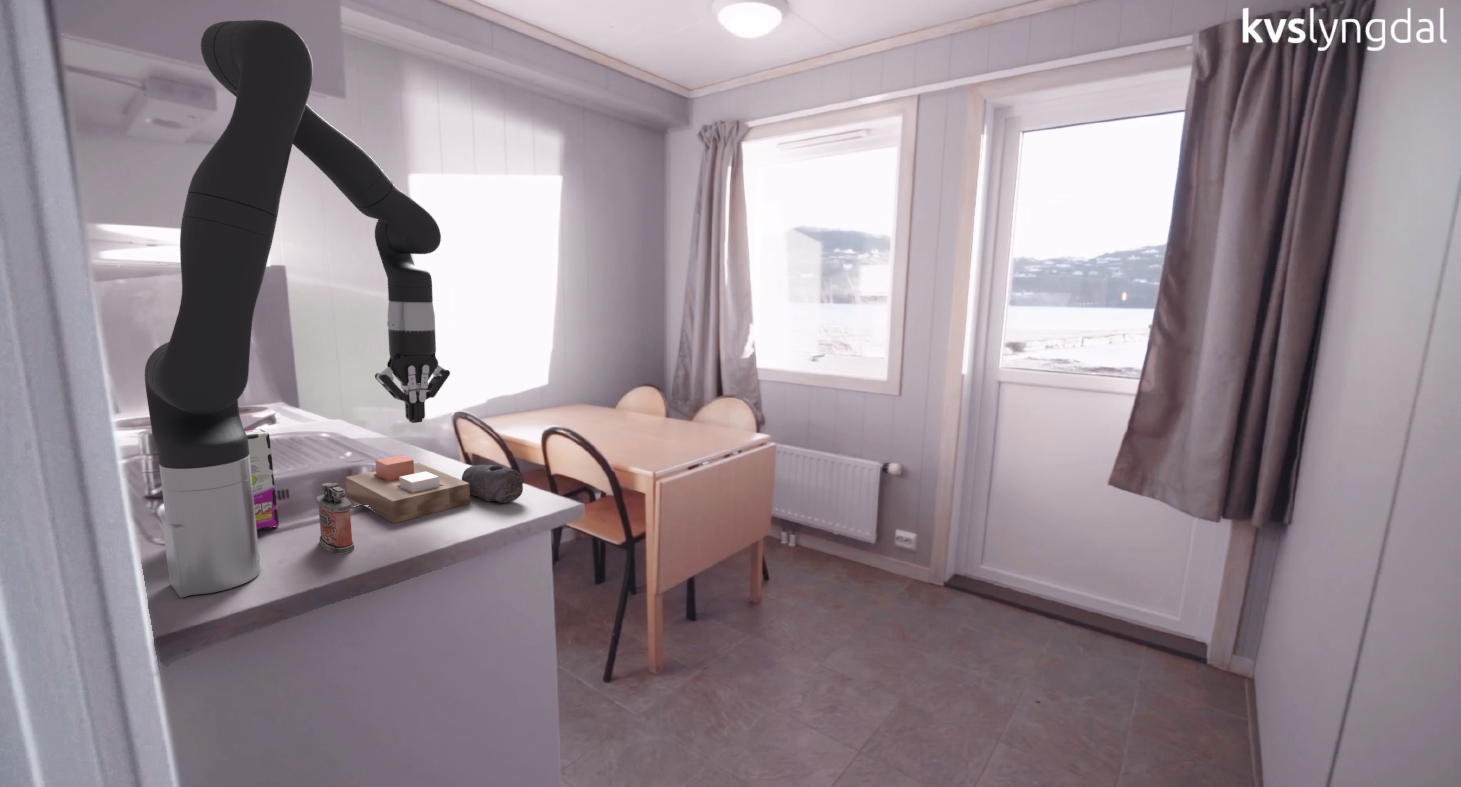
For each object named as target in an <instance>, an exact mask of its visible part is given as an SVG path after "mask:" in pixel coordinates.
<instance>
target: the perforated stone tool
mask: <svg viewBox="0 0 1461 787" xmlns="http://www.w3.org/2000/svg"><path fill="white" fill-rule="evenodd" d="M461 480H462V481H465V482H467V483H469V488H470V495H472V496H474V497H475V496H476V497H477V498H478V499H481V500H484V501H487V502H493V501H497V502H499V503H500V504H506V503H509V502H514V501H516V500H517V499H519V498H520V497H521V495H522V494H523V490H524V489H523V488H524V484H523V476H522V474H521V473H520V472H519V471H517V470H516V469H515V470H514V469H512V468H509V467H505V466H502V465H492V464H477V465H471V466H469V467H467V468H466V469H465V470H464V471H463V473H462V474H461Z"/></svg>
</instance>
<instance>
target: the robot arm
mask: <svg viewBox="0 0 1461 787" xmlns="http://www.w3.org/2000/svg"><path fill="white" fill-rule="evenodd" d="M200 49H201V50H200V51H201V52H200V53H201V55H202V58H203V62H204V63H205V66H206V67H207V69H208V71H209V72H210V73H211V75H212V76H213V77H214V78H215V79H216V80H217V81H218V82H219V83H220V85H222V86H223V87H224V88H225V89H226V90H227V91H228V92H230V93H231V94H232V95H233V96H235V97H236V99H235V103H234V108H233V112H232V115H231V118H230V120H229V122H228V124H227V126H226V128H225V130H224V131H223V133H222V134H221V135H220V137H219V138H218V139H217V141H216V142H215V144H214V145H213V146H212V147H211V149H210V150H209V151H208V153H206V155H205V156H204V158H203V159H202V160H201V162H200V164H199V165H198V167H197V168H196V170H195V172H194V174H193V175H192V177H191V180H190V183H189V186H188V190H187V195H186V199H185V203H184V209H183V212H182V218H181V223H180V236H179V237H180V238H179V252H180V256H179V257H180V271H181V297H180V298H181V299H180V305H179V309H178V314H177V316H176V320H175V324H174V325H173V330H172V334H171V336H170V337H169V338H170V340H169V341H168V342H165V343H164V344H162V345H160V346H158V347H157V348H156V349H155V350H153V352H152V353H151V354H150V356H149V357H148V359H147V361H146V363H145V367H144V383H145V384H144V385H145V386H144V387H145V393H146V400H147V406H148V414H149V419H150V421H149V422H150V428H151V433H152V434H151V435H152V438H153V442H154V445H155V448H156V453H157V458H158V465H159V474H160V483H161V489H162V490H161V491H162V498H163V507H164V508H163V509H164V516H162V519H161V523H162V530H163V539H164V546H165V554H166V556H165V557H166V564H167V572H168V579H169V585H170V586H171V587H172V589H173V590H174V591H175V593H176V594H177V596H179V598H184V597H185V598H186V597H188V596H195V595H204V594H213V593H217V592H222V591H226V590H230V589H233V588H237V587H239V586H241V585H243V584H246V583H248V582H250V581H252V580H254V579H255V578H257V577H258V575H260V573H261V562H260V560H261V558H260V553H259V552H260V550H259V549H260V548H259V540H258V532H257V529H256V518H255V508H254V498H253V488H252V477H251V466H250V456H249V444H248V438H247V435H246V433H245V431H246V430H245V429H244V425H243V422H242V419H241V415H240V408H239V399H240V397H241V396H242V395H243V393H244V391H245V390H246V388H247V384H248V380H249V371H250V357H251V356H250V352H251V342H252V341H251V340H252V328H253V327H252V326H253V321H254V320H253V319H254V314H255V309H256V305H257V301H258V298H259V293H260V290H261V289H262V288H261V287H262V284H263V280H264V277H265V274H266V273H265V272H266V269H267V264H268V260H269V256H270V253H271V248H272V244H273V240H274V234H275V230H276V226H277V220H278V217H279V216H278V215H279V209H280V203H281V197H282V192H283V188H284V185H285V183H284V182H285V180H286V175H287V170H288V166H289V162H290V161H289V160H290V158H291V157H290V156H291V153H292V147H293V146H295V148H297V150H299V151H300V152H301V153H302V154H303V155H305V156H306V158H308V159H309V160H310V161H311V163H313V164H314V165H315V166H316V167H317V168H318V169H319V170H321V172H322V173H323V174H324V175H325V176H326V177H327V178H329V180H330V181H331V182H332V183H333V184H334V185H335V186H336V188H338V190H339V191H340V192H341V193H342V194H343V195H344V196H345V197H346V198H347V199H348V200H349V201H350V202H351V203H352V205H353V206H354V207H355V208H356V209H357V210H358V211H359V212H360V213H361V214H363V215H365V217H368V218H372V219H374V220H377V221H376V223H375V228H374V241H375V244H376V247H377V251H378V254H379V257H380V259H381V263H382V267H383V269H384V272H385V275H386V278H387V294H388V304H387V305H388V308H387V322H386V325H387V329H388V330H387V335H388V352H389V359H388V361H387V365H386V368H385V369H384V370H382V371H381V372H375V375H374V378H375V380H377V382H378V383H379V384H381V386H382V387H383V388H384V389H385V390H386V391H387V392H388V393H389V394H390V395H391V396H392V398H394V400H398V401H402V402H404V406H405V408H404V410H405V418H406V419H407V420H408V421H409V423H412V424H416V423H422V422H423V419H425V417H426V412H425V411H426V409H425V408H426V407H425V403H426V400H428V399H431V398H435V397H436V396H437V393H438V392H439V391H440V389H441V388H442V386H444V384H445V382H446V381H447V379H448V378H449V377H450V376H451V372H450V370H448V369H444V368H443V367H442V366H440V365H439V360H438V359H437V357H436V353H437V346H436V345H437V342H436V319H435V318H436V316H435V314H436V313H435V310H434V305H433V304H434V303H433V302H434V300H433V299H434V298H433V280H432V275H431V273H430V272H429V271H428V270H426V269H423V268H419V267H417V266H416V265H415V263H414V260H413V257H412V255H427V254H431V253H433V252H436V250H437V249H438V248H439V247H440V244H441V241H442V235H441V230H440V227H439V224H438V223H437V221H436V219H435V218H434V217H433V216H432V214H430V213H429V211H428V210H426V209H425V208H424V207H423V206H421V205H420V204H419V203H418V202H416V201H415V200H414V199H413V198H411V196H409V195H408V194H407V193H405V192H403V191H402V190H401V189H400V188H398V187H397V186H396V185H395V184H394V182H393V181H392V180H391V179H390V177H389V176H388V175H387V173H385V172H384V170H383V169H382V168H381V167H380V165H379V164H378V163H377V161H375V159H373V158H372V156H371V155H370V154H368V152H367V151H365V150H364V149H363V148H362V147H361V146H360V145H358V143H356V142H355V141H353V140H352V139H350V137H349V136H347V135H345V134H344V133H343V132H341V131H340V130H338V129H337V128H336V127H334V126H333V125H331V123H329V122H328V121H327V120H326V119H325V118H323V117H322V116H320V115H319V114H318V113H317V112H316V111H315V110H313V109H312V107H310V106H309V104H307V102H308V100H309V98H310V94H311V90H312V86H313V81H314V64H313V58H312V54H311V53H310V50H309V47H308V45H307V44H306V42H305V40H304V39H303V37H301V36H300V34H299V33H298V32H296V31H295V30H294V29H293V28H291V27H290V26H288V25H287V24H284V23H282V22H281V23H280V22H277V21H273V20H263V19H253V20H252V19H251V20H226V21H225V20H224V21H221V22H215V23H214V24H212V25H210V26H208V27H207V28H206V29H205V30H204V32H203V35H202V36H201V39H200ZM393 375H394V376H393ZM395 378H396V379H397V381H399V383H400V387H398V385H397V384H396V383H395V381H394V379H395Z"/></svg>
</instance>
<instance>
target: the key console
mask: <svg viewBox="0 0 1461 787" xmlns="http://www.w3.org/2000/svg"><path fill="white" fill-rule="evenodd" d="M425 471H427V472H429V473H431V474H434V475H436V476H439V484H440V487H436V488H431V489H427V490H423V491H418V492H414V493H409V492H407V491H405V490H403V489H401V488H400V482H399V479H395V480H390V481H384V480H382V479H380V478H378V477H376V470H374V471H370V472H365V473H360V474H354V475H349V476H346V477H345V487H346V498H347V499H350V500H352V501H354V502H356V503H357V504H359V505H361V506H363V505H369V506H368V507H371V509H373V511H375V512H376V513H375V512H374V513H375V514H377V513H378V514H377V515H379V514H380V515H381V516H380V515H379V516H380V517H382V516H383V517H382V518H384V519H385V520H388V521H389V522H391V523H393V524H397V523H400V522H405V521H408V520H412V519H415V518H416V519H417V518H419V517H422V516H423V517H424V516H427V515H430V514H434V513H437V512H438V513H439V512H443V511H446V510H449V509H453V508H457V507H461V506H465V505H469V504H471V496H470V495H471V494H470V488H469V483H467V482H465V481H462V479H460V478H457V477H455V476H453V475H450V474H447V473H445V472H442V471H440V470H438V469H435V468H433V467H430V466H428V465H426V464H424V463H420V462H417V463H414V474H415V473H420V472H425ZM373 511H372V512H373Z"/></svg>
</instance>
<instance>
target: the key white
mask: <svg viewBox="0 0 1461 787" xmlns="http://www.w3.org/2000/svg"><path fill="white" fill-rule="evenodd" d="M399 482H400V488H401V489H403V490H405V491H407V492H409V493H414V492H418V491H423V490H427V489H431V488H436V487H440V484H439V476H436V475H434V474H431V473H429V472H427V471H425V472H420V473H415V474H410V475H406V476H401V477H399Z"/></svg>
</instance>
